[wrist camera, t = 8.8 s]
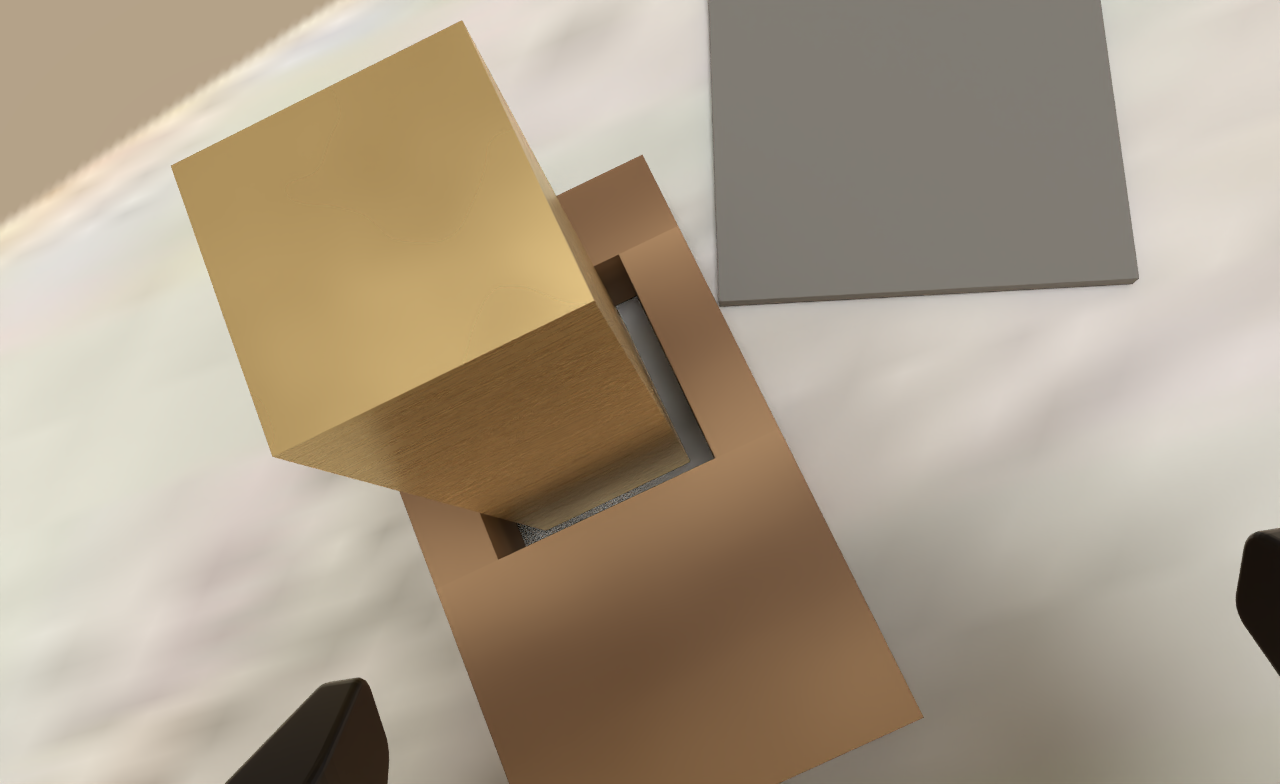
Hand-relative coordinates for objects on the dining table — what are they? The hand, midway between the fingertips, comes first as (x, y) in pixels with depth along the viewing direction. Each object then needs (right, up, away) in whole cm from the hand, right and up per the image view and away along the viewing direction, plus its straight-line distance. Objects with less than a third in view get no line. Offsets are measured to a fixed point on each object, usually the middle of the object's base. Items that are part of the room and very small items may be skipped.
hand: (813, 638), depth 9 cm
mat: (+5, +10, +15) cm, 18 cm away
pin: (-3, +2, +14) cm, 14 cm away
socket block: (-2, 0, +13) cm, 14 cm away
